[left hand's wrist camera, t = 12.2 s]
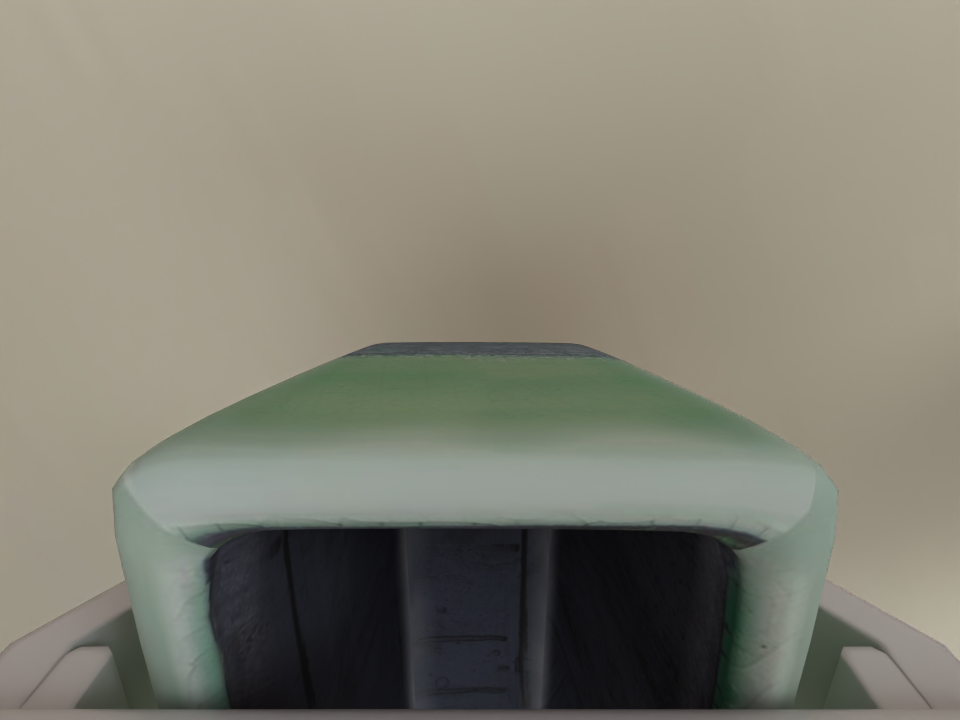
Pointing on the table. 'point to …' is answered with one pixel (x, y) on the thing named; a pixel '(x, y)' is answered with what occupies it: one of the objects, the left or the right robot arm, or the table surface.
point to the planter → (475, 541)
